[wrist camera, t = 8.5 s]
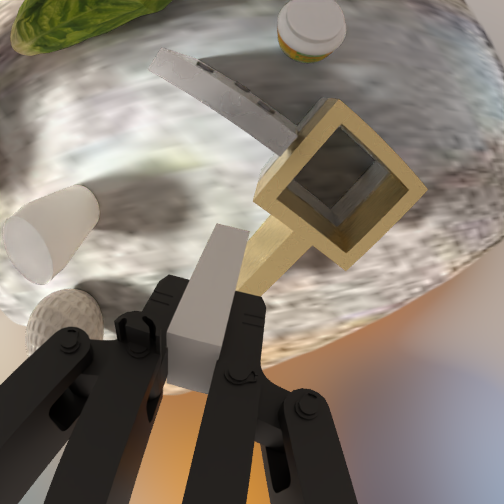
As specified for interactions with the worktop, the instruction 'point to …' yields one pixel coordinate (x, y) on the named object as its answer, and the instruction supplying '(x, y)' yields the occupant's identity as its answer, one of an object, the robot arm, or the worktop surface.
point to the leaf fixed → (262, 126)
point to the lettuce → (72, 21)
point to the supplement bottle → (310, 29)
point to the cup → (50, 232)
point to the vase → (63, 317)
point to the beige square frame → (312, 223)
